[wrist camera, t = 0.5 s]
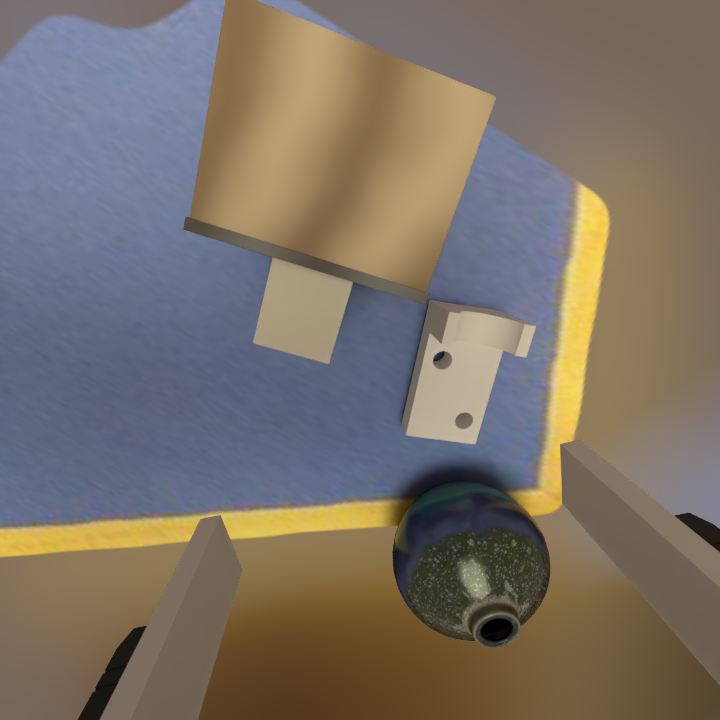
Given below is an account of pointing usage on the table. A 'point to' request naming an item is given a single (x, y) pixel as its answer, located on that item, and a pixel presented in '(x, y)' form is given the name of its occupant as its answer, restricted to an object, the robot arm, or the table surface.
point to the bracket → (459, 369)
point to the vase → (471, 563)
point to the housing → (332, 152)
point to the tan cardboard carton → (301, 311)
